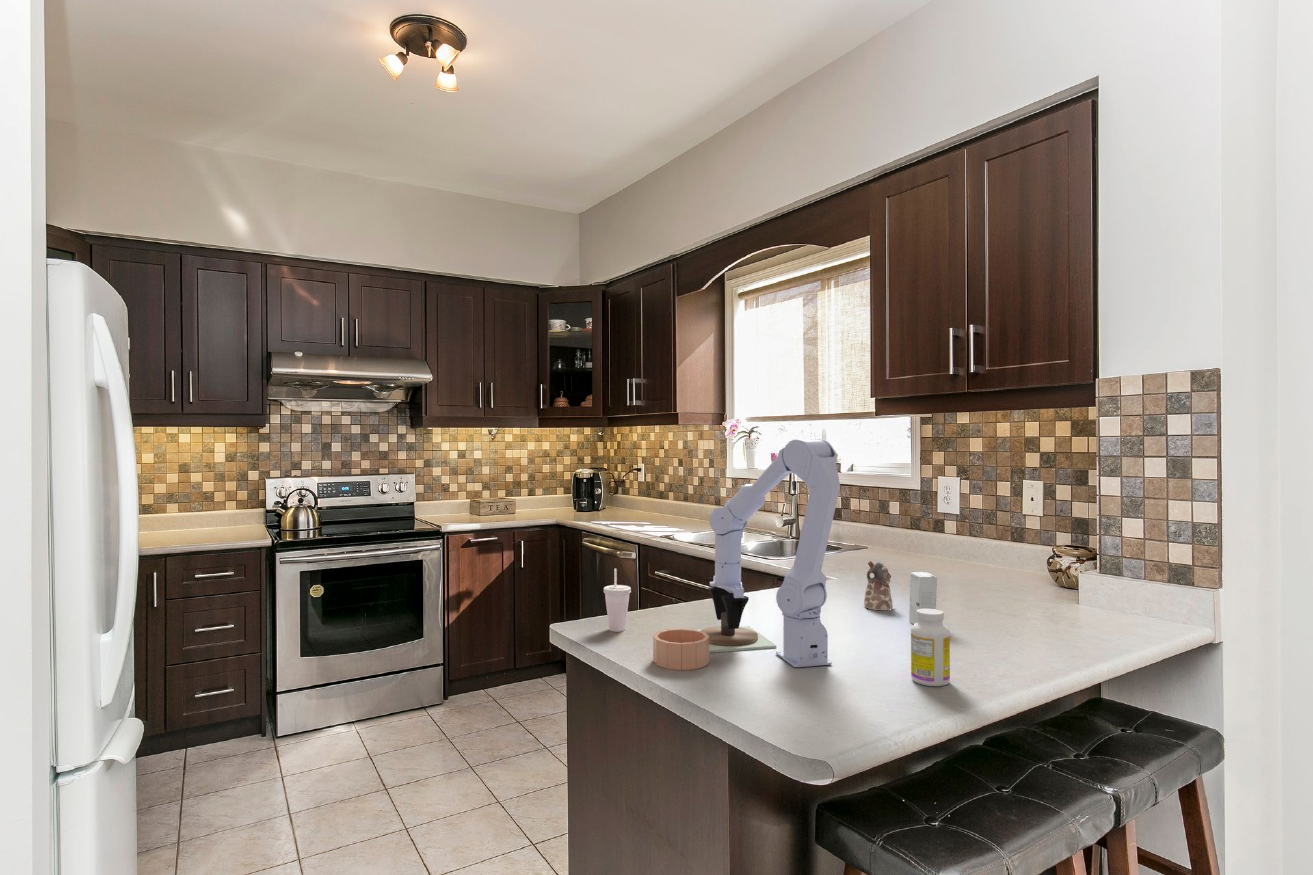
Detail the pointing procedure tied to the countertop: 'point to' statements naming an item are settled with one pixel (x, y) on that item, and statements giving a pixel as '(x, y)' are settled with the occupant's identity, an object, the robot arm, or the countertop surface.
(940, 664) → the supplement bottle
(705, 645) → the bowl
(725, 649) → the mat
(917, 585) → the skincare box
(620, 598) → the smoothie
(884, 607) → the figurine
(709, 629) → the lid
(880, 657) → the countertop surface
